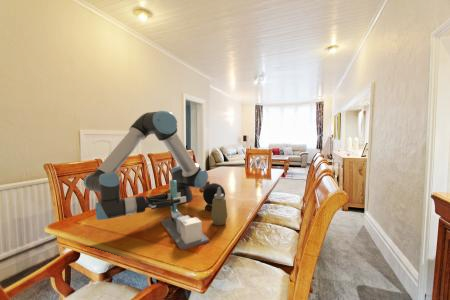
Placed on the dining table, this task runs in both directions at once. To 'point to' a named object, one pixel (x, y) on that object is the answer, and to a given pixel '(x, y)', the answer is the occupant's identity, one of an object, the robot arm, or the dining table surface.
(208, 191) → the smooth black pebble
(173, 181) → the tube
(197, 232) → the socket
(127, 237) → the dining table surface
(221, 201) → the squeeze bottle
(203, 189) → the bell
